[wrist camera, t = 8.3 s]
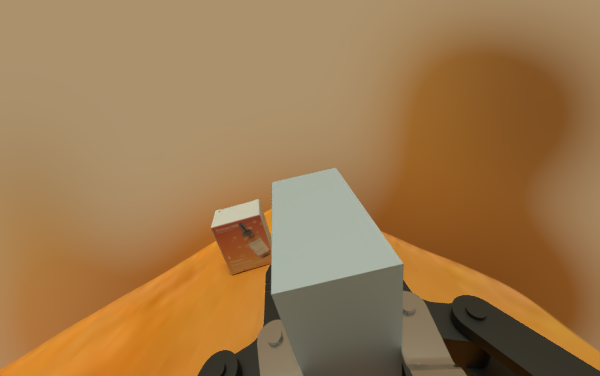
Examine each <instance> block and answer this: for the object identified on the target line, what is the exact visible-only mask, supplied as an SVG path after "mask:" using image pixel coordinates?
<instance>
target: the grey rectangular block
mask: <svg viewBox="0 0 600 376" xmlns="http://www.w3.org/2000/svg"><path fill="white" fill-rule="evenodd" d="M271 295H272V298H273V300H274V303H275V306H276V308H277V311H278V313H279V316H280V319H281V321H282V324H283V326H284V329H285V332H286V334H287V337H288V339H289V342H290V345H291V347H292V350H293V352H294V355H295V358H296V360H297V363H298V365H299V368H300V370H303V373H304V376H402V360H401V356H400V346H402V325H403V263H402V261H401V260H400V258H399V257H398V255H397V254H396V253H395V251H394V250H393V248H392V247H391V245H390V244H389V243H388V241H387V240H386V238H385V237H384V236H383V234H382V233H381V231H380V230H379V228H378V227H377V226H376V224H375V223H374V221H373V220H372V218H371V217H370V216H369V214H368V213H367V211H366V210H365V209H364V207H363V206H362V204H361V203H360V201H359V200H358V199H357V197H356V196H355V195H354V193H353V192H352V190H351V189H350V187H349V186H348V184H347V183H346V182H345V180H344V179H343V177H342V176H341V175H340V173H339V172H338V170H337V169H336V168H333V169H329V170H324V171H320V172H315V173H311V174H307V175H302V176H298V177H294V178H290V179H285V180H280V181H276V182H273V183H272V265H271Z"/></svg>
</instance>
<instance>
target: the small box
mask: <svg viewBox="0 0 600 376" xmlns="http://www.w3.org/2000/svg"><path fill="white" fill-rule="evenodd" d="M211 230H212V232H213V234H214V237H215V239H216V241H217V243H218V245H219V248H220V250H221V252H222V254H223V256H224V259H225V261H226V263H227V265H228V268H229V270H230V272H231V274H232V275H234V274H237V273H240V272H243V271H246V270H250V269H253V268H257V267H260V266H264V265H268V264H272V238H271V235H270V232H269V229H268V226H267V222H266V219H265V216H264V213H263V210H262V207H261V204H260V200H259V199H257V200H254V201H252V202H248V203H244V204H240V205H236V206H233V207H229V208H225V209H220V210H216V212H215V215H214V219H213V222H212V226H211Z"/></svg>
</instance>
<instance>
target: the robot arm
mask: <svg viewBox="0 0 600 376" xmlns="http://www.w3.org/2000/svg"><path fill="white" fill-rule="evenodd" d="M400 356H401V360H402V376H600V371H599V370H597V369H595V368H594V367H592V366H591V365H589V364H587V363H586V362H584V361H582V360H581V359H579V358H577V357H576V356H574V355H573V354H571V353H569V352H568V351H566V350H564V349H563V348H561V347H560V346H558V345H556V344H555V343H553V342H551V341H550V340H548V339H546V338H545V337H543V336H542V335H540V334H538V333H537V332H535V331H533V330H532V329H530V328H529V327H527V326H525V325H524V324H522V323H520V322H519V321H517V320H516V319H514V318H512V317H511V316H509V315H507V314H506V313H504V312H502V311H501V310H499V309H498V308H496V307H494V306H493V305H491V304H489V303H488V302H486V301H484V300H483V299H480V298H478V297H475V296H470V295H462V296H459V297H457V298H455V299H454V301H453V303H452V304H446V303H434V302H429V301H426V300H423V299H421V298H420V297H419V296H418V295H416V294H414V293H412V292H411V291H410V289H409V288H408V286H407V285H406V283H405V282H404V280H403V325H402V346H400ZM198 376H304V373H303V370H300V368H299V365H298V363H297V360H296V358H295V355H294V352H293V350H292V347H291V345H290V342H289V339H288V337H287V334H286V332H285V329H284V326H283V324H282V321H281V319H280V316H279V313H278V311H277V308H276V306H275V303H274V300H273V298H272V295H271V265H270V266H269V268H268V270H267V272H266V285H265V310H264V325H263V328H262V330H261V331H260V333H259V335H258V338H257V339H256V340H255V341H254V342H253V343H252V344H250V345H249V346H247V347H246V348H244V349H242V350H241V351H239V352H238V353H236V354H234V353H233V352H231V351H228V350H223V351H219V352H217V353H215V354H214V355H212V356H211V357H210V358H209V359H208V360H207V361H206V363H205V364H204V365H203V367H202V369H201V371H200V372H199V374H198Z"/></svg>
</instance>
